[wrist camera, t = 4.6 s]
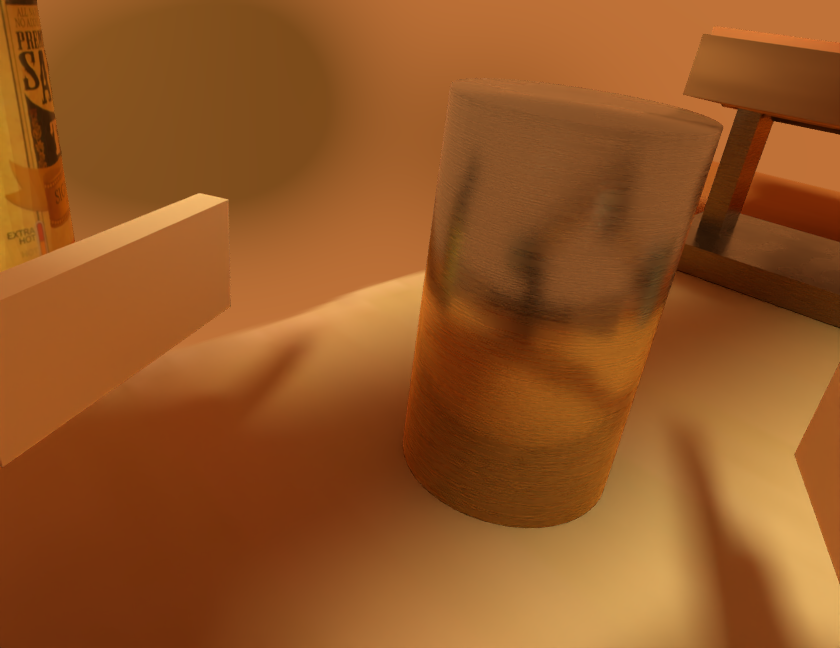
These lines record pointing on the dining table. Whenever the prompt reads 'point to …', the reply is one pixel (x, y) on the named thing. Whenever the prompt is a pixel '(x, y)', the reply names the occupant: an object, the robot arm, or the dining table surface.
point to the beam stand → (759, 238)
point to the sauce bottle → (28, 143)
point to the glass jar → (544, 290)
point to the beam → (770, 76)
